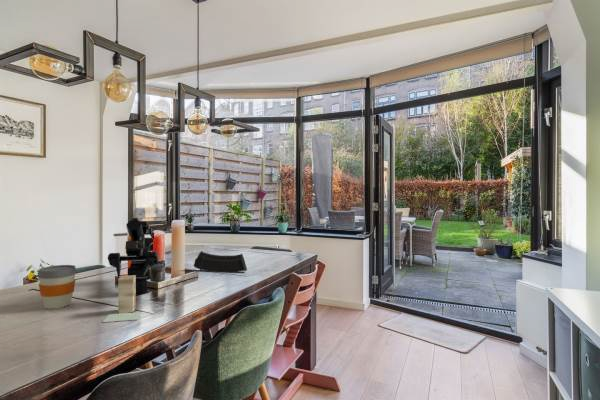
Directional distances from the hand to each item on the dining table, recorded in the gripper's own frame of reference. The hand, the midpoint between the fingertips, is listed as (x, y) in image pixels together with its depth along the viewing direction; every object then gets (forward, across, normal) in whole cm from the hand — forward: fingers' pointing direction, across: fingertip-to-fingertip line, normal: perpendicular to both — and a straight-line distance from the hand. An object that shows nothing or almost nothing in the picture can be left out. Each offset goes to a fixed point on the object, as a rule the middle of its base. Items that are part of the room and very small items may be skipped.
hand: (130, 276), depth 140 cm
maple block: (+13, 0, +4) cm, 14 cm away
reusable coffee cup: (+4, -28, +13) cm, 31 cm away
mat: (+19, 0, -2) cm, 19 cm away
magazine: (-30, +37, +47) cm, 67 cm away
